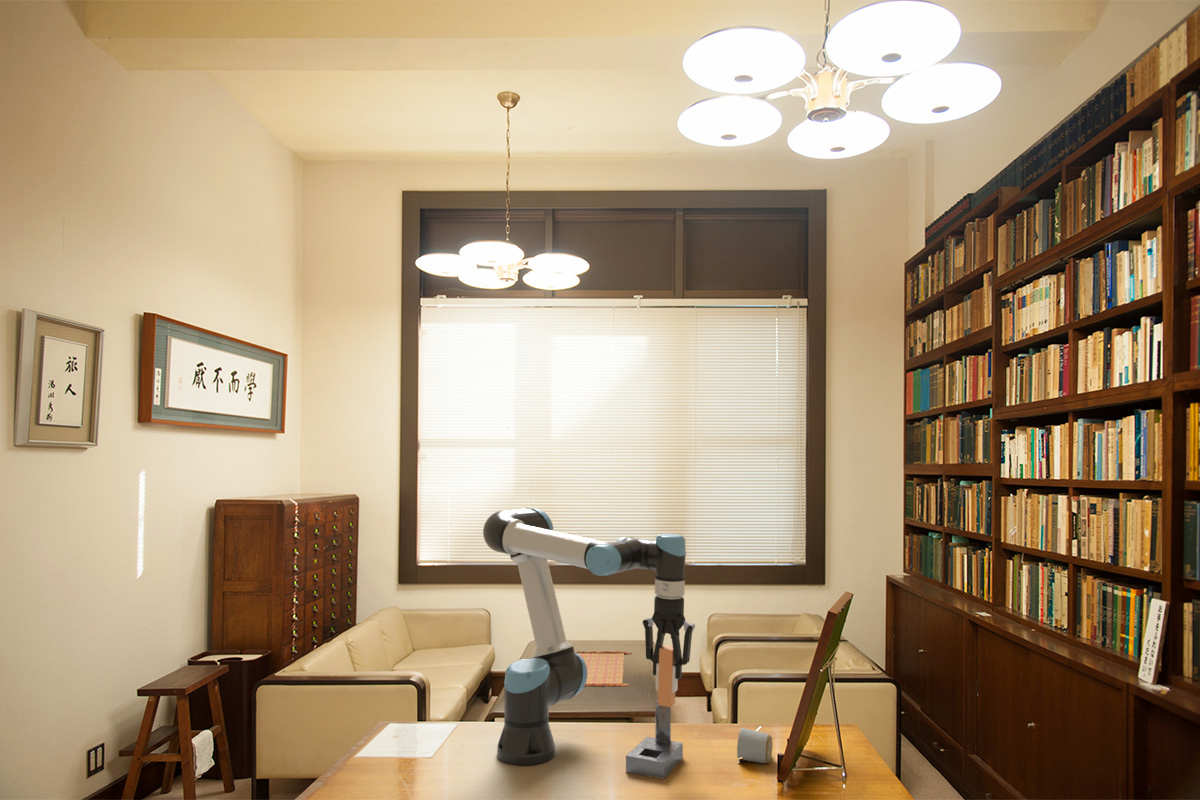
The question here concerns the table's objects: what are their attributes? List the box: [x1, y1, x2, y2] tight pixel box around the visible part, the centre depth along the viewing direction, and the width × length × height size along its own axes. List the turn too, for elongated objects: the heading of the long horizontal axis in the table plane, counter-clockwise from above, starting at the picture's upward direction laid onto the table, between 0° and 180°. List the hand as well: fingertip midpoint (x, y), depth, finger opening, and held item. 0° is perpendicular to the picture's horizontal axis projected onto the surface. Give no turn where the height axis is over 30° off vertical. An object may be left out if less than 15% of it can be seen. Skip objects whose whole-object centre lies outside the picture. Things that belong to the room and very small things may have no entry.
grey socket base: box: [625, 699, 684, 780], centre depth 202 cm, size 10×15×14 cm, turn 156°
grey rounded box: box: [736, 727, 773, 764], centre depth 206 cm, size 11×8×8 cm
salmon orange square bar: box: [657, 645, 676, 708], centre depth 200 cm, size 3×3×14 cm
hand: (666, 689), depth 199 cm, fingers closed on salmon orange square bar, 3 cm apart
